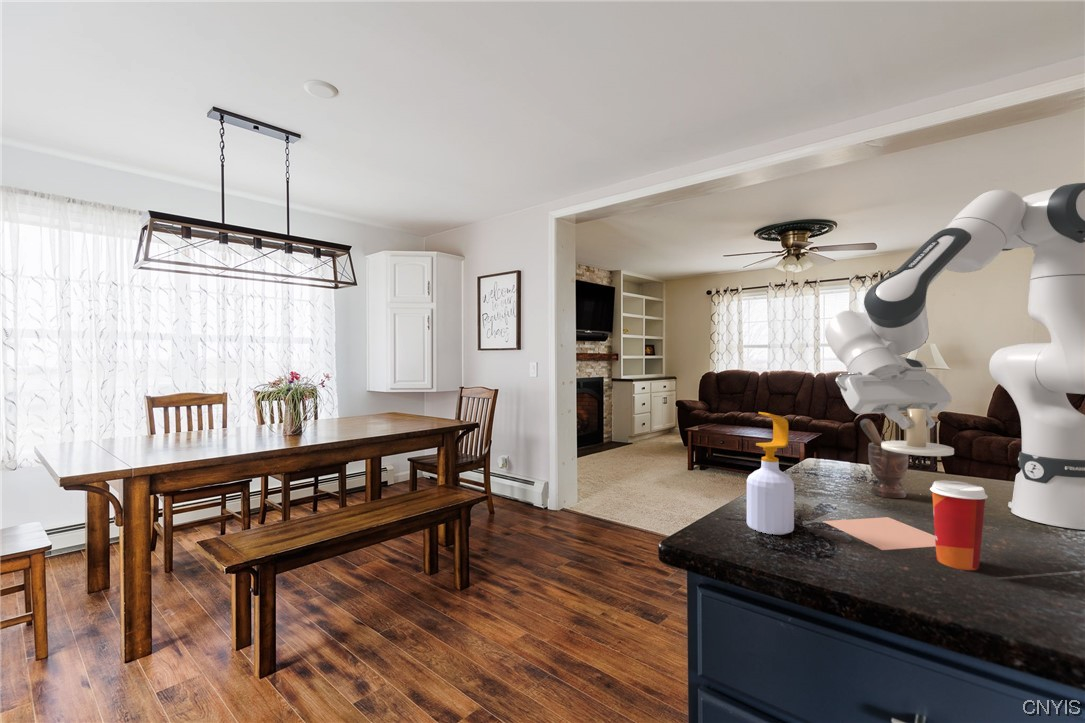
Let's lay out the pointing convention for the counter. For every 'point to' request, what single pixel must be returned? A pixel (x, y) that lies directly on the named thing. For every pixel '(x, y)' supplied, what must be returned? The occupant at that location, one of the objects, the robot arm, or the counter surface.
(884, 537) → the mat
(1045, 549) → the counter surface
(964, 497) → the paper cup
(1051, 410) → the robot arm
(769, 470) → the soap bottle
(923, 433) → the lid
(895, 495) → the mortar and pestle
